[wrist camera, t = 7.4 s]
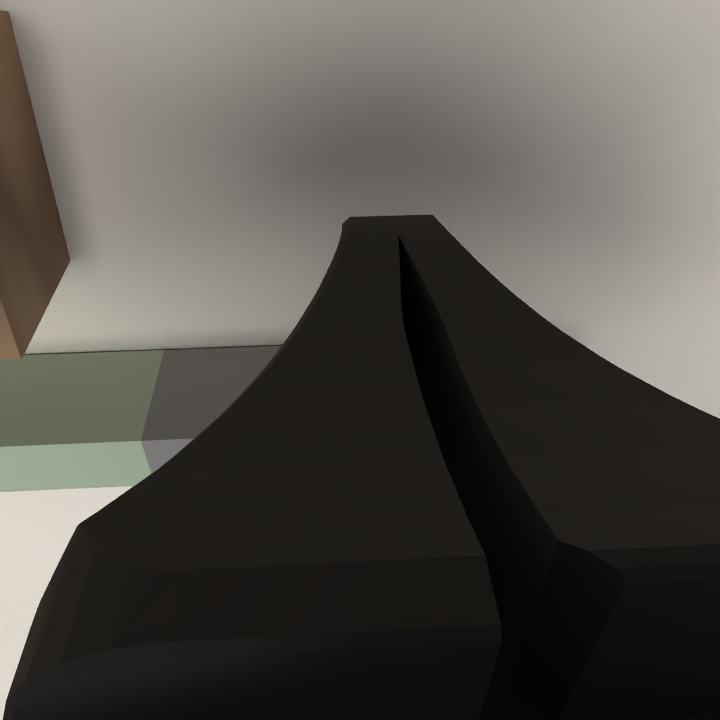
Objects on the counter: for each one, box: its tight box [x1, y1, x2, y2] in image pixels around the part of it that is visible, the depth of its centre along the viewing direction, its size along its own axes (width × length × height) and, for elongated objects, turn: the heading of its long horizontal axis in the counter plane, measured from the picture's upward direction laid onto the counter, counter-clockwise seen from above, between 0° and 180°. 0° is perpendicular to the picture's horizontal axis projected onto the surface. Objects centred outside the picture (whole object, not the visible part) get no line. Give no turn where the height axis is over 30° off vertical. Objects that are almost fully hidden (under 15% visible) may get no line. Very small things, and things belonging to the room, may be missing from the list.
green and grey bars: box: [0, 346, 282, 492], centre depth 12 cm, size 13×18×3 cm
